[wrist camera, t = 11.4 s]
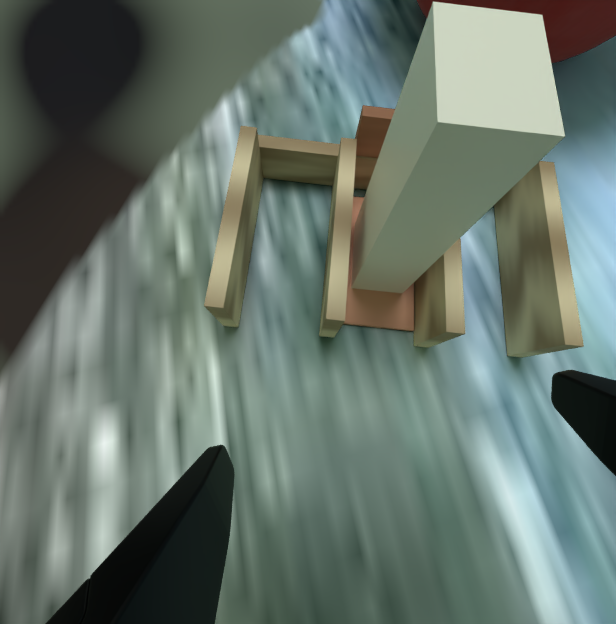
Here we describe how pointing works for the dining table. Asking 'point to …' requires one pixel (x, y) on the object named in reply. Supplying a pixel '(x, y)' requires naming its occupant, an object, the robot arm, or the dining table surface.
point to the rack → (436, 279)
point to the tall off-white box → (455, 139)
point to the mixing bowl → (557, 21)
